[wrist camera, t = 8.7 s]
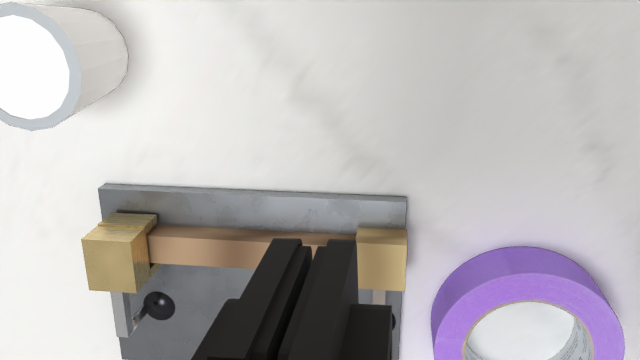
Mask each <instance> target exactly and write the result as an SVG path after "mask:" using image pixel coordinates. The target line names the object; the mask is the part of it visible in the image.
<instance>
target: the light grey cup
mask: <svg viewBox="0 0 640 360" xmlns="http://www.w3.org/2000/svg"><path fill="white" fill-rule="evenodd" d="M127 66H128V51H127V48H126V44H125V41H124V38H123V36H122V35H121V33H120V32H119V30H118V29H117V28H116V26H115V25H114V23H113V22H111V21H110V20H108V19H107V18H106V17H104V16H103V15H101V14H100V13H98V12H94V11H90V10H86V9H81V8H71V7H60V6H49V5H38V4H28V3H17V2H8V3H3V4H0V120H2V121H3V122H5V123H6V124H8V125H10V126H14V127H18V128H22V129H26V130H30V131H34V130H40V129H47V128H53V127H55V126H56V125H58V124H59V123H61V122H63V121H64V120H66V119H68V118H69V117H71V116H72V115H74V114H76V113H77V112H79V111H81V110H82V109H84V108H85V107H87V106H89V105H90V104H92V103H94V102H95V101H97V100H98V99H100V98H102V97H103V96H105V95H107V94H108V93H110V92H111V91H112V90H114V89H115V88H117V87H118V86H119V85H120V84H121V82H122V80H123V78H124V76H125V75H126V73H127Z"/></svg>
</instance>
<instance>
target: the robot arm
mask: <svg viewBox="0 0 640 360" xmlns="http://www.w3.org/2000/svg"><path fill="white" fill-rule="evenodd" d="M191 360H392V305H378V304H359V297H358V263H357V243H356V240H339V239H329V240H328V242H327V245H326V246H318V247H317V250H316V253H315V255H314V258H312V248H311V246H303V244H302V240H301V239H296V238H274V239H273V240H272V241H271V243H270V245H269V247H268V249H267V250H266V252H265V254H264V256H263V257H262V259H261V261H260V263H259V265H258V266H257V268H256V270H255V272H254V274H253V275H252V277H251V279H250V281H249V282H248V284H247V286H246V288H245V290H244V291H243V293H242V295H241V297H240V299H234V298H231V299H228V300H227V301H226V302H225V303H224V305H223V307H222V308H221V310H220V312H219V313H218V315H217V317H216V318H215V320H214V322H213V323H212V325H211V327H210V328H209V330H208V332H207V333H206V335H205V337H204V338H203V340H202V342H201V343H200V345H199V347H198V348H197V350H196V352H195V353H194V355H193V357H192V358H191Z"/></svg>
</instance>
